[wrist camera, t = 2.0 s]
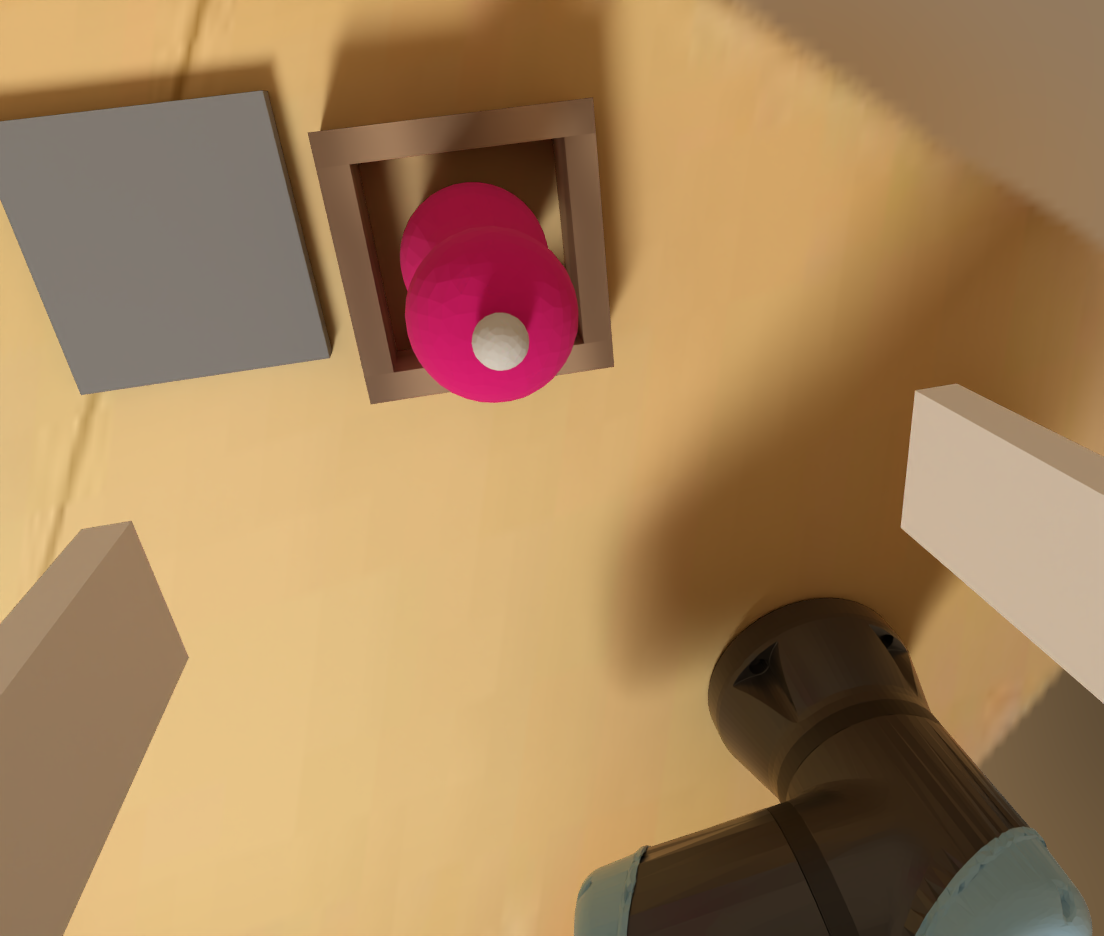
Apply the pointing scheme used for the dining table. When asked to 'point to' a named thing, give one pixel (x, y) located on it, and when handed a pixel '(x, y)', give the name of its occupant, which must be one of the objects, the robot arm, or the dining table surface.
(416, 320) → the pepper mill
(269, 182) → the coaster
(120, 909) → the dining table surface
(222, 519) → the dining table surface
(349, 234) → the brown wooden square tray
